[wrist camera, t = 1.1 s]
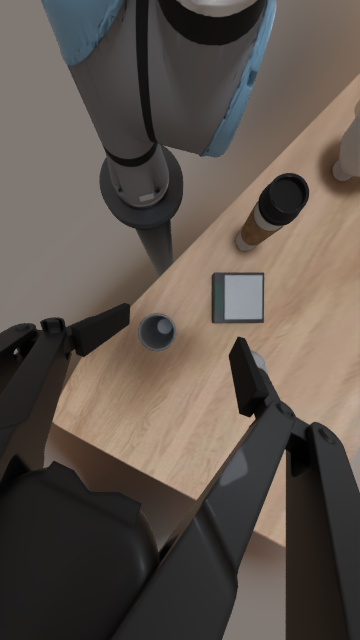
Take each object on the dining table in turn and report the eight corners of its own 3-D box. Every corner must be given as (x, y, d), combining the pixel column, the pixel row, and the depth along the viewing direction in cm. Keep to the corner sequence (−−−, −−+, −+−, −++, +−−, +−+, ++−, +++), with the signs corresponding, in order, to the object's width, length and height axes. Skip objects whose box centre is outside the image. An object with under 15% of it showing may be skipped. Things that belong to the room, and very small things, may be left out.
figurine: (245, 342, 38) (263, 349, 30) (260, 360, 39) (281, 371, 31) (229, 356, 38) (242, 367, 30) (243, 374, 39) (261, 389, 31)
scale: (212, 275, 38) (215, 271, 34) (258, 275, 38) (266, 271, 35) (211, 322, 38) (215, 323, 35) (258, 322, 38) (265, 322, 35)
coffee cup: (226, 236, 37) (259, 182, 22) (250, 221, 37) (300, 158, 22) (240, 261, 38) (281, 224, 23) (264, 246, 38) (322, 200, 23)
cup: (166, 310, 38) (159, 305, 23) (181, 327, 38) (183, 334, 23) (149, 324, 38) (130, 329, 23) (163, 342, 38) (154, 358, 23)
